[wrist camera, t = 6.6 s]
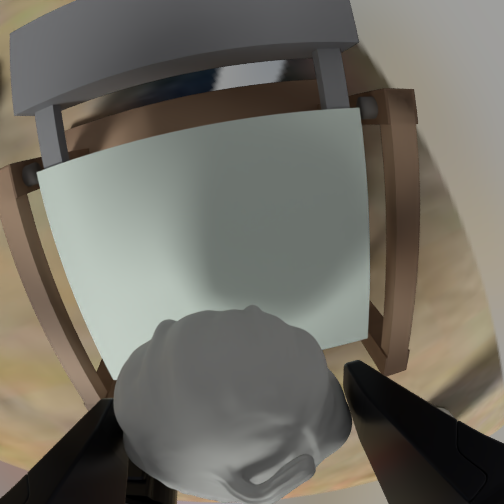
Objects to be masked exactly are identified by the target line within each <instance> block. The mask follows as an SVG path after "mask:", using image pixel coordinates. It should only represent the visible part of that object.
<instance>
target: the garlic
mask: <svg viewBox="0 0 504 504" xmlns="http://www.w3.org/2000/svg"><path fill="white" fill-rule="evenodd" d="M114 412H115V416H116V419H117V422H118V424H119V425H120V427H121V428H122V430H123V443H124V449H125V452H126V454H127V456H128V457H129V459H130V460H131V461H132V462H133V463H134V464H135V465H136V466H138V467H139V468H140V469H142V470H143V471H144V472H146V473H147V474H149V475H150V476H152V477H153V478H156V479H157V480H159V481H160V482H162V483H163V484H164V485H166V486H167V487H169V488H172V489H175V490H177V491H179V492H181V493H184V494H188V495H193V496H197V497H200V498H205V499H209V500H216V501H219V502H221V503H229V502H241V503H243V504H274V503H276V502H277V501H279V500H280V499H281V498H283V497H284V496H285V495H287V494H288V493H290V492H291V491H292V490H294V489H295V488H297V487H298V486H299V485H301V484H302V483H304V482H306V481H307V480H309V479H310V478H311V477H312V476H313V475H314V473H315V470H316V467H317V466H318V465H319V464H320V463H321V462H322V461H323V460H324V459H325V458H327V457H328V456H329V455H331V454H332V453H334V452H335V451H337V450H338V449H339V448H340V447H341V446H342V445H343V444H344V443H345V442H346V440H347V439H348V437H349V435H350V432H351V428H352V416H351V412H350V409H349V406H348V404H347V402H346V399H345V396H344V393H343V390H342V388H341V385H340V384H339V382H338V380H337V378H336V377H335V376H334V374H333V373H332V372H331V371H330V370H329V369H328V368H327V363H326V359H325V356H324V354H323V351H322V349H321V347H320V345H319V344H318V342H317V341H316V339H315V338H314V337H313V336H312V335H311V334H310V333H309V332H307V331H305V330H303V329H301V328H298V327H295V326H290V325H288V324H287V323H285V322H284V321H282V320H281V319H280V318H278V317H277V316H274V315H271V314H269V313H266V312H264V311H262V310H261V309H260V308H259V307H258V306H256V305H249V306H247V307H246V308H245V309H243V310H237V309H230V310H225V311H214V310H205V311H200V312H197V313H193V314H190V315H187V316H185V317H183V318H181V319H180V320H178V321H175V320H171V319H167V320H163V321H162V322H160V323H159V324H158V326H157V327H156V329H155V332H154V334H153V336H152V339H151V340H149V341H148V342H146V343H144V344H142V345H141V346H139V347H138V348H137V349H135V350H134V351H133V352H132V354H131V355H130V357H129V358H128V360H127V361H126V362H125V364H124V365H123V367H122V369H121V371H120V373H119V375H118V378H117V381H116V385H115V390H114Z"/></svg>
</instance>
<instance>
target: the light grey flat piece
mask: <svg viewBox="0 0 504 504" xmlns="http://www.w3.org/2000/svg"><path fill="white" fill-rule="evenodd" d="M357 43H359V39H358V35H357V30H356V25H355V21H354V17H353V13H352V9H351V5H350V1H349V0H76V1H73V2H71V3H69V4H67V5H64V6H62V7H60V8H58V9H56V10H53V11H51V12H49V13H47V14H45V15H43V16H41V17H39V18H37V19H35V20H33V21H32V22H30V23H28V24H26V25H24V26H22V27H21V28H19V29H17V30H15V31H14V32H12V33H10V71H11V87H12V99H13V109H14V116H35V120H36V127H37V133H38V139H39V145H40V150H41V156H42V161H43V166H44V170H42V171H39V172H37V177H38V181H39V186H40V190H41V194H42V198H43V202H44V206H45V209H46V213H47V217H48V220H49V224H50V227H51V230H52V234H53V237H54V240H55V243H56V247H57V250H58V253H59V256H60V259H61V261H62V264H63V267H64V270H65V273H66V275H67V278H68V281H69V284H70V286H71V289H72V291H73V294H74V296H75V299H76V301H77V304H78V306H79V309H80V311H81V313H82V316H83V318H84V320H85V323H86V325H87V327H88V329H89V332H90V334H91V336H92V338H93V340H94V342H95V344H96V346H97V349H98V351H99V353H100V355H101V357H102V359H103V361H104V363H105V365H106V367H107V369H108V370H109V372H110V374H111V376H112V378H113V380H117V378H118V375H119V373H120V371H121V369H122V367H123V365H124V364H125V362H126V361H127V360H128V358H129V357H130V355H131V354H132V352H133V351H134V350H135V349H137V348H138V347H139V346H141V345H142V344H144V343H146V342H148V341H149V340H151V339H152V336H153V334H154V332H155V329H156V327H157V326H158V324H159V323H160V322H162V321H163V320H167V319H171V320H175V321H178V320H180V319H181V318H183V317H185V316H187V315H190V314H193V313H197V312H200V311H205V310H214V311H225V310H230V309H237V310H243V309H245V308H246V307H247V306H249V305H256V306H258V307H259V308H260V309H261V310H262V311H264V312H266V313H269V314H271V315H274V316H277V317H278V318H280V319H281V320H282V321H284V322H285V323H287V324H288V325H290V326H295V327H298V328H301V329H303V330H305V331H307V332H309V333H310V334H311V335H312V336H313V337H314V338H315V339H316V341H317V342H318V344H319V345H320V347H321V349H322V350H323V349H327V348H332V347H336V346H340V345H344V344H348V343H352V342H356V341H359V340H363V339H367V338H368V322H369V294H370V236H369V208H368V190H367V175H366V163H365V152H364V142H363V133H362V124H361V116H360V109H359V108H350V105H349V98H348V92H347V85H346V79H345V73H344V67H343V62H342V56H341V53H342V52H343V51H345V50H347V49H349V48H350V47H352V46H354V45H355V44H357ZM303 58H313V62H314V67H315V73H316V79H317V85H318V91H319V98H320V104H321V110H314V111H303V112H293V113H284V114H275V115H267V116H260V117H252V118H246V119H239V120H233V121H227V122H221V123H215V124H210V125H204V126H199V127H194V128H189V129H184V130H180V131H175V132H170V133H166V134H162V135H157V136H153V137H149V138H145V139H141V140H137V141H133V142H130V143H126V144H122V145H119V146H115V147H112V148H108V149H105V150H101V151H98V152H95V153H91V154H88V155H85V156H82V157H79V158H76V159H73V160H70V159H69V154H68V149H67V144H66V138H65V132H64V126H63V120H62V113H61V111H62V110H64V109H67V108H69V107H72V106H75V105H77V104H80V103H83V102H86V101H89V100H91V99H94V98H97V97H100V96H103V95H106V94H109V93H113V92H116V91H119V90H123V89H126V88H129V87H133V86H136V85H140V84H144V83H148V82H152V81H155V80H160V79H164V78H168V77H172V76H177V75H182V74H186V73H191V72H196V71H202V70H207V69H213V68H219V67H225V66H232V65H239V64H247V63H255V62H264V61H274V60H287V59H303Z"/></svg>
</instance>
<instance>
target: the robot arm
mask: <svg viewBox="0 0 504 504" xmlns="http://www.w3.org/2000/svg"><path fill="white" fill-rule="evenodd" d="M343 388H344V392H345V396H346V399H347V402H348V405H349V408H350V411H351V415H352V418H353V421H354V424H355V427H356V431H357V434H358V437H359V439H360V442H361V444H362V446H363V448H364V451H365V453H366V455H367V457H368V459H369V461H370V464H371V466H372V468H373V470H374V472H375V475H376V477H377V479H378V481H379V483H380V486H381V488H382V490H383V492H384V494H385V497H386V499H387V501H388V503H389V504H504V443H502V442H499V441H497V440H495V439H493V438H491V437H488V436H486V435H484V434H482V433H480V432H479V431H477V430H475V429H473V428H471V427H469V426H468V425H466V424H464V423H462V422H461V421H458V422H457V419H455V418H454V417H452V416H450V415H449V414H447V413H445V412H444V411H442V410H440V409H439V408H437V407H435V406H434V405H432V404H430V403H429V402H427V401H425V400H424V399H422V398H420V397H419V396H417V395H415V394H414V393H412V392H410V391H409V390H407V389H406V388H404V387H402V386H401V385H399V384H397V383H396V382H394V381H393V380H391V379H389V378H388V377H386V376H385V375H383V374H381V373H380V372H378V371H377V370H375V369H373V368H372V367H370V366H369V365H367V364H365V363H364V362H362V361H360V360H356V361H352V362H348V363H346V364H345V365H344V376H343ZM0 504H177V490H175V489H172V488H169V487H167V486H166V485H164V484H163V483H162V482H160V481H159V480H157V479H156V478H153V477H152V476H150V475H149V474H147V473H146V472H144V471H143V470H142V469H140V468H139V467H138V466H136V465H135V464H134V463H133V462H132V461H131V460H130V459H129V457H128V456H127V454H126V452H125V449H124V443H123V430H122V428H121V427H120V425H119V424H118V422H117V419H116V416H115V412H114V398H103V399H101V400H99V401H98V402H97V403H96V404H95V405H94V406H93V407H92V408H91V409H90V410H89V411H88V412H87V413H86V414H85V415H84V416H83V417H82V418H81V419H80V420H79V421H78V422H77V423H76V424H75V425H74V426H73V427H72V429H71V430H70V431H69V432H68V433H67V434H66V435H65V436H64V437H63V438H62V439H61V440H60V441H59V442H58V443H57V444H56V445H55V446H54V447H53V448H52V449H51V450H50V451H49V452H48V453H47V454H46V455H45V456H44V457H43V458H42V459H41V460H40V461H39V462H38V463H37V464H36V465H35V466H34V467H33V468H32V469H31V470H30V471H29V472H28V475H27V474H26V475H25V476H24V477H23V478H22V479H21V480H20V481H19V482H18V483H17V484H16V485H15V486H14V487H13V488H11V489H10V491H8V492H7V493H6V494H5V495H4V496H2V498H0Z"/></svg>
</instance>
